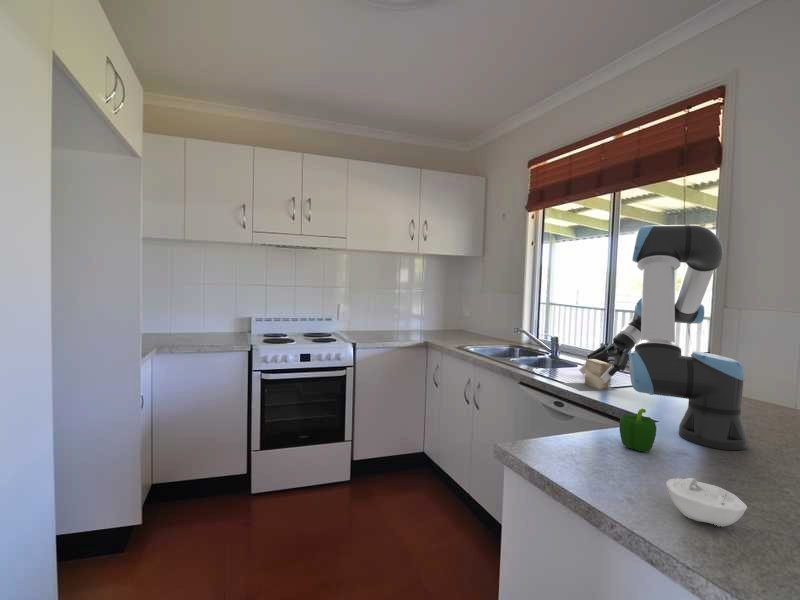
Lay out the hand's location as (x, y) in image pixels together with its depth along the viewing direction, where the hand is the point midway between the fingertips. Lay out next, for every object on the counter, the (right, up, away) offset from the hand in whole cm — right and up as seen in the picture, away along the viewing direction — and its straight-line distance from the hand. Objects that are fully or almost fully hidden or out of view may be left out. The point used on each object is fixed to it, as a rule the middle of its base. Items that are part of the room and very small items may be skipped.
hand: (591, 376), depth 173 cm
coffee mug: (+12, -4, +19) cm, 23 cm away
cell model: (-22, -9, -95) cm, 98 cm away
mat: (-1, -5, 0) cm, 5 cm away
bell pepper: (-16, -8, -62) cm, 65 cm away
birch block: (+2, -4, +1) cm, 5 cm away
